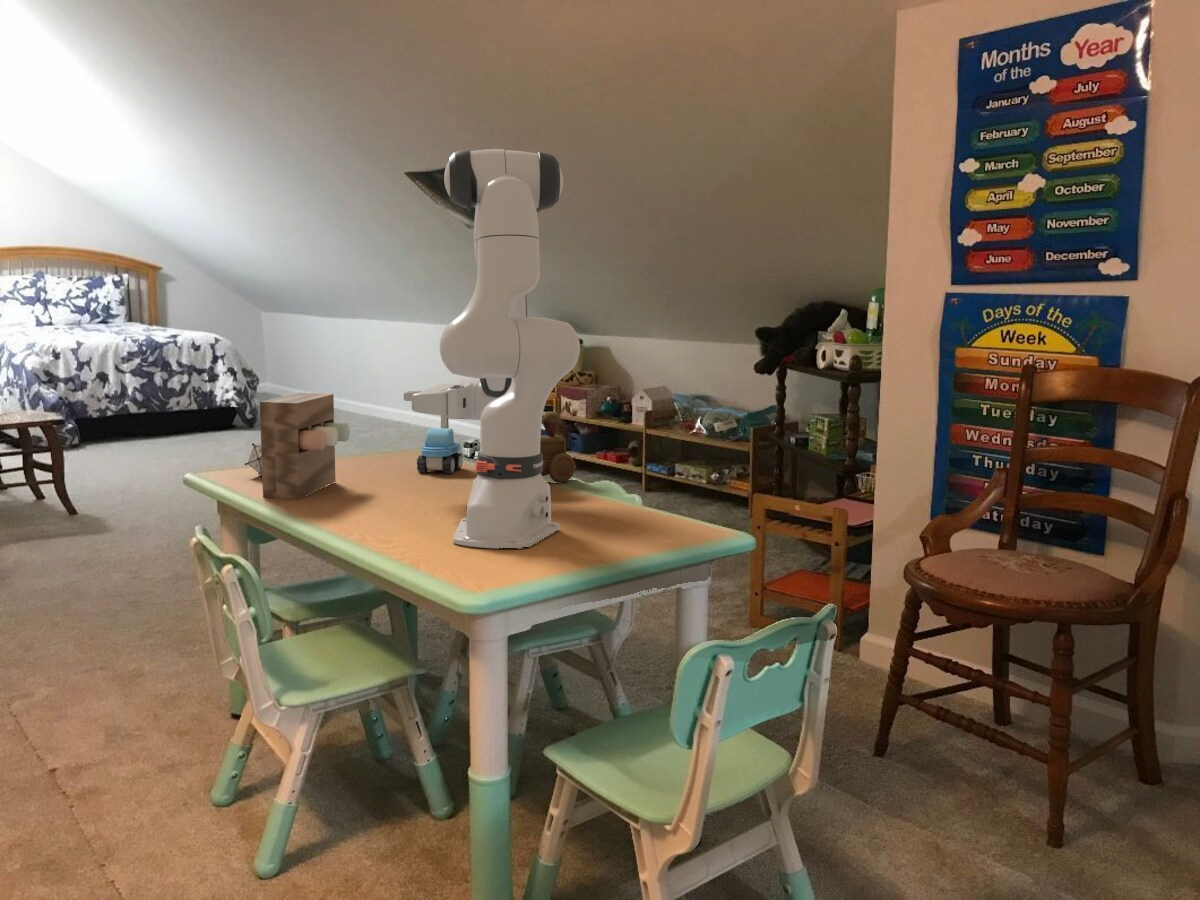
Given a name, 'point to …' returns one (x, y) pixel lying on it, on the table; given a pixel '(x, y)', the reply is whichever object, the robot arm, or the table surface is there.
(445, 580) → the table surface
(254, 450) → the game die
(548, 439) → the wooden toy train
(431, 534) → the table surface
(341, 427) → the sage button
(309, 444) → the terracotta button
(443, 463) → the toy excavator
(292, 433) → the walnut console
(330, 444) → the cream button
